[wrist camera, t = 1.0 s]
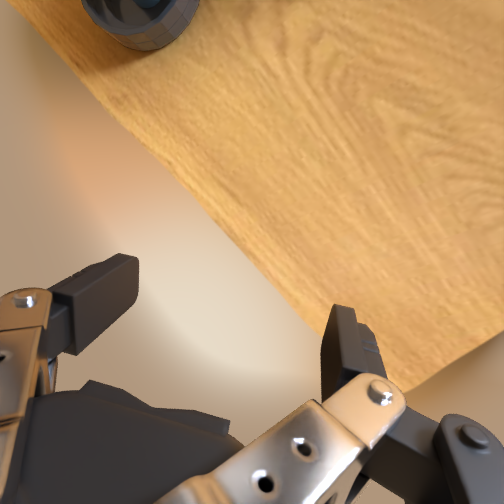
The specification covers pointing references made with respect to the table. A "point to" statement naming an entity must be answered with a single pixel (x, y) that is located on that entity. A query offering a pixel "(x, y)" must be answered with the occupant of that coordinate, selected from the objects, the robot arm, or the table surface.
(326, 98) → the table surface
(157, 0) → the canister
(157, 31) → the bowl
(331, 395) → the robot arm
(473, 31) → the table surface
